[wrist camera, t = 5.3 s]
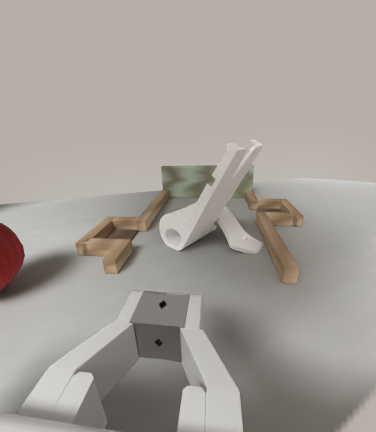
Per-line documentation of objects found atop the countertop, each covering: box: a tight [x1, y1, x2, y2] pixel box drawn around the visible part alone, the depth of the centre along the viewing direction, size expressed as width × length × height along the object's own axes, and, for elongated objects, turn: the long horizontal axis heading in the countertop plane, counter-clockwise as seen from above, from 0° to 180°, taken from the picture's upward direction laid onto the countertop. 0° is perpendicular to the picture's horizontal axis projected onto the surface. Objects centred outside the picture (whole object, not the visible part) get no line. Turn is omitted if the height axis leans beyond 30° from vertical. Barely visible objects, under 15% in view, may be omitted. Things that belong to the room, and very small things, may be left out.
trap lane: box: [76, 165, 303, 284], centre depth 30 cm, size 27×26×6 cm
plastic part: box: [159, 140, 263, 254], centre depth 23 cm, size 8×10×12 cm
